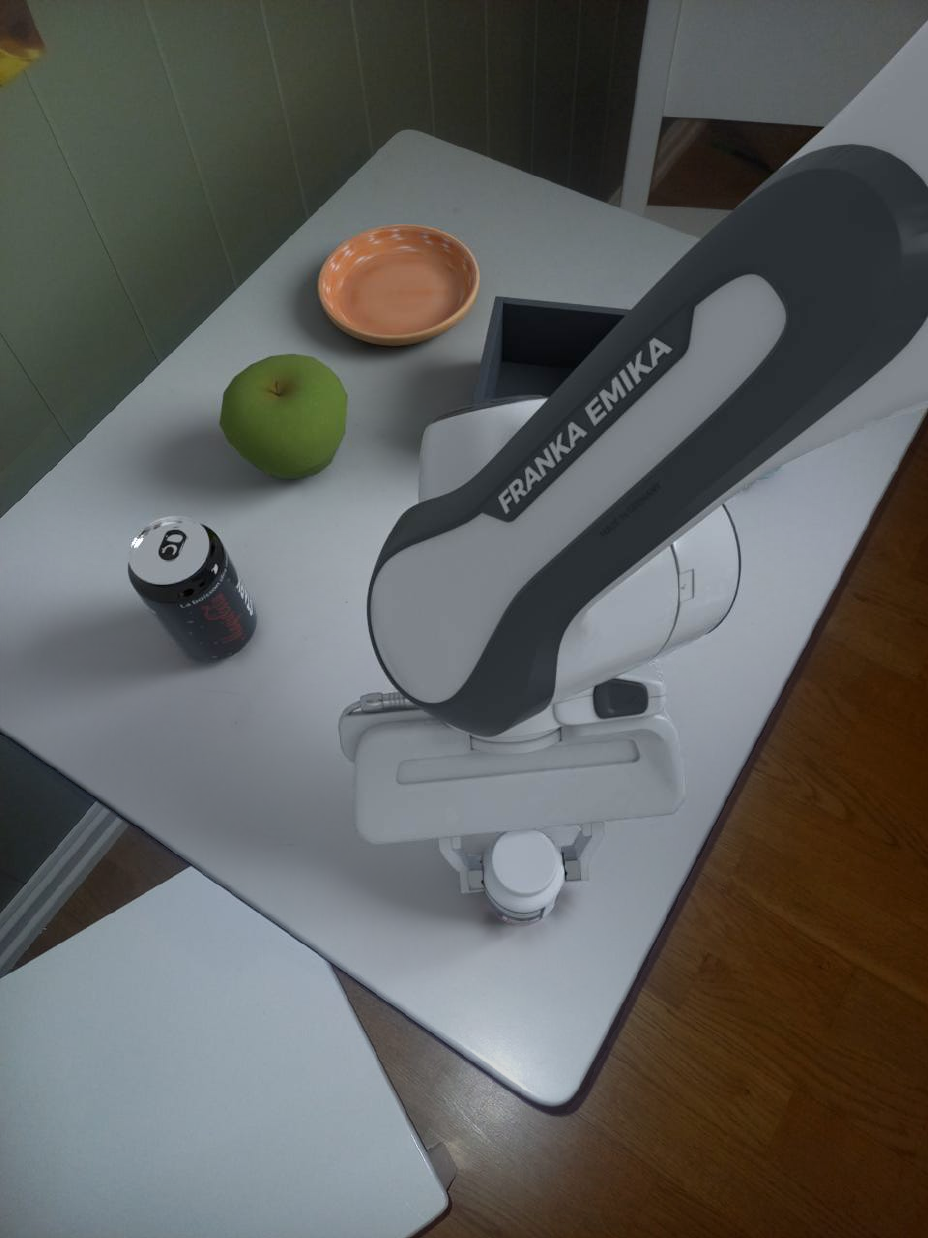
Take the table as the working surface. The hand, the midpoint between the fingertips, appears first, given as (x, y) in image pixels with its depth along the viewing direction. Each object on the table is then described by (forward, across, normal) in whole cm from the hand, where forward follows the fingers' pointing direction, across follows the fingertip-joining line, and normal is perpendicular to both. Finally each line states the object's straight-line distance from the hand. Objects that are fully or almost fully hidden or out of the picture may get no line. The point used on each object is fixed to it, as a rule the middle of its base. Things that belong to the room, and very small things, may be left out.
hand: (524, 882), depth 54 cm
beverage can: (-13, -22, +20) cm, 32 cm away
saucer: (-38, -5, +45) cm, 59 cm away
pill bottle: (+3, 0, +4) cm, 5 cm away
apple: (-25, -15, +32) cm, 43 cm away
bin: (-26, +8, +33) cm, 43 cm away
